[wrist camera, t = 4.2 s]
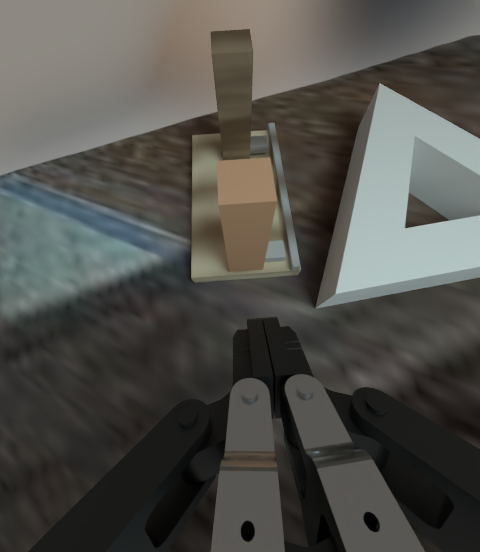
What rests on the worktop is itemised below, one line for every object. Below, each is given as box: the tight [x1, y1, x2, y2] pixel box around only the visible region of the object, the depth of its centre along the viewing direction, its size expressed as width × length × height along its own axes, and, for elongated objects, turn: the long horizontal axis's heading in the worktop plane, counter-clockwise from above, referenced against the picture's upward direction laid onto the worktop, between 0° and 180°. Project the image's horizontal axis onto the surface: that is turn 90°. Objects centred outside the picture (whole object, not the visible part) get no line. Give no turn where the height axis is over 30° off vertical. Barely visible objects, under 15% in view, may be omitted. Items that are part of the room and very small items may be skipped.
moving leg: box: [216, 157, 286, 272], centre depth 19 cm, size 4×6×11 cm, turn 94°
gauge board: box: [191, 123, 301, 283], centre depth 28 cm, size 22×12×2 cm, turn 4°
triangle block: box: [315, 84, 480, 308], centre depth 25 cm, size 30×26×6 cm
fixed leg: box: [211, 29, 268, 160], centre depth 25 cm, size 4×6×11 cm, turn 94°
